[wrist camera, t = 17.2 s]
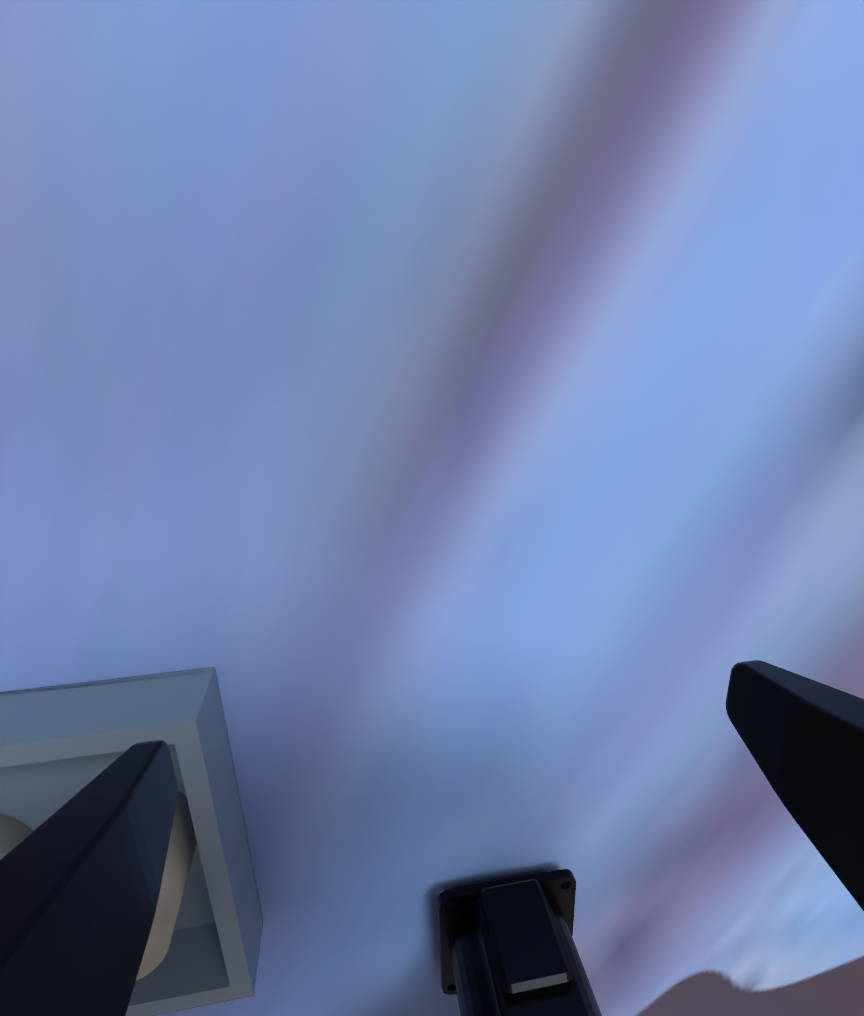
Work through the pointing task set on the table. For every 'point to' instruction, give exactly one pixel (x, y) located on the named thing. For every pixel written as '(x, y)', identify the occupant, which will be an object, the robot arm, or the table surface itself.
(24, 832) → the pebble
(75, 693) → the dish
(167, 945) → the pebble
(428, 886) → the table surface
